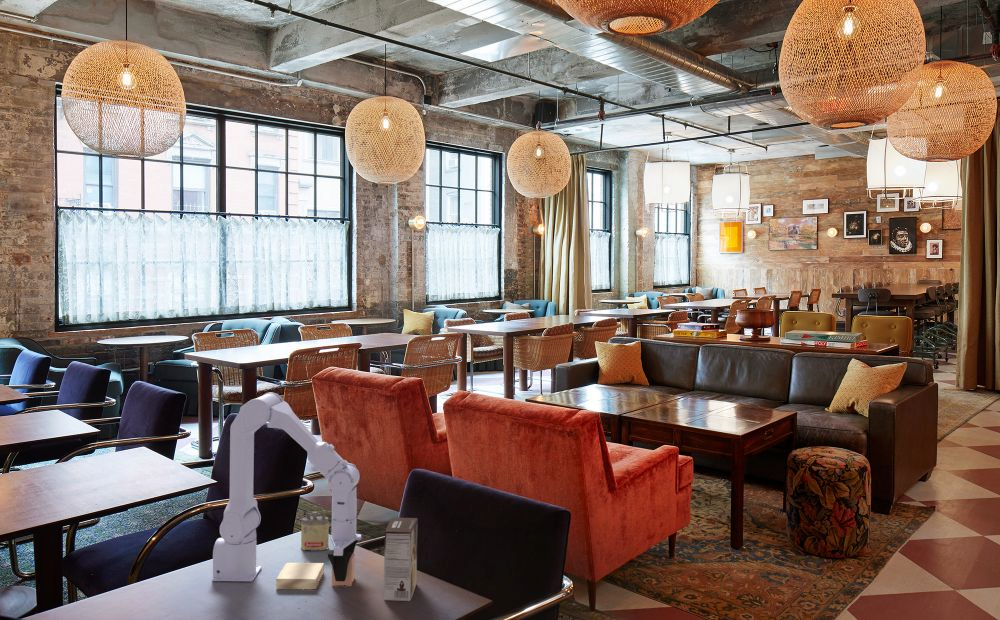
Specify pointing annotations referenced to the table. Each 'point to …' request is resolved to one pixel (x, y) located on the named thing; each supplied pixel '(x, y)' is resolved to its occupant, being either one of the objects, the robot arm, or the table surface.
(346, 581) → the terracotta block
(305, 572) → the birch block
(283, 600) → the table surface
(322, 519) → the yellow package
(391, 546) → the coffee box
